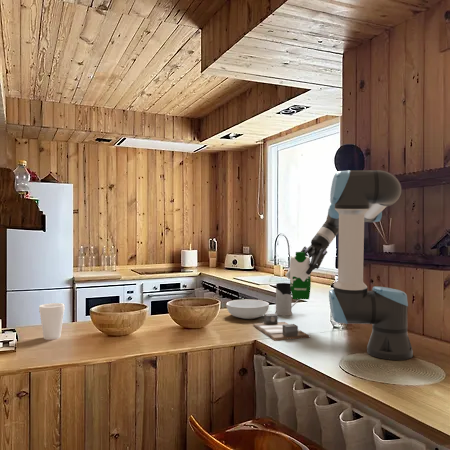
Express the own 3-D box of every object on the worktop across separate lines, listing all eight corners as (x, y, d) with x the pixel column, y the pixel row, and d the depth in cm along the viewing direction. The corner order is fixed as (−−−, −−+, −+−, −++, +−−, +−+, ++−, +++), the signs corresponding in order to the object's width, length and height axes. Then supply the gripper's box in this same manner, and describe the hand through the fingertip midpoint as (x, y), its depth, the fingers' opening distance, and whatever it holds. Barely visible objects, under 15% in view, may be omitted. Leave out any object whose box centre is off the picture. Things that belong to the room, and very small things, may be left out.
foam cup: (55, 341, 175) (55, 308, 175) (34, 340, 177) (34, 307, 176) (69, 335, 184) (69, 303, 184) (48, 334, 186) (48, 302, 186)
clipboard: (309, 337, 181) (309, 325, 181) (274, 340, 177) (274, 327, 177) (284, 323, 205) (284, 313, 205) (253, 325, 201) (253, 314, 201)
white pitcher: (272, 312, 231) (272, 283, 231) (297, 310, 235) (297, 282, 235) (279, 315, 222) (279, 285, 222) (305, 314, 227) (305, 284, 227)
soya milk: (290, 299, 191) (290, 252, 191) (290, 296, 200) (289, 251, 200) (311, 299, 190) (311, 252, 190) (310, 296, 199) (309, 251, 199)
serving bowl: (219, 314, 225) (219, 301, 225) (256, 311, 234) (256, 298, 233) (237, 323, 206) (237, 308, 206) (277, 319, 215) (277, 305, 215)
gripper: (344, 246, 192) (316, 286, 185) (311, 244, 212) (284, 280, 204) (335, 234, 190) (305, 275, 182) (302, 233, 209) (274, 269, 201)
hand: (294, 278), depth 193 cm, fingers closed on soya milk, 9 cm apart
